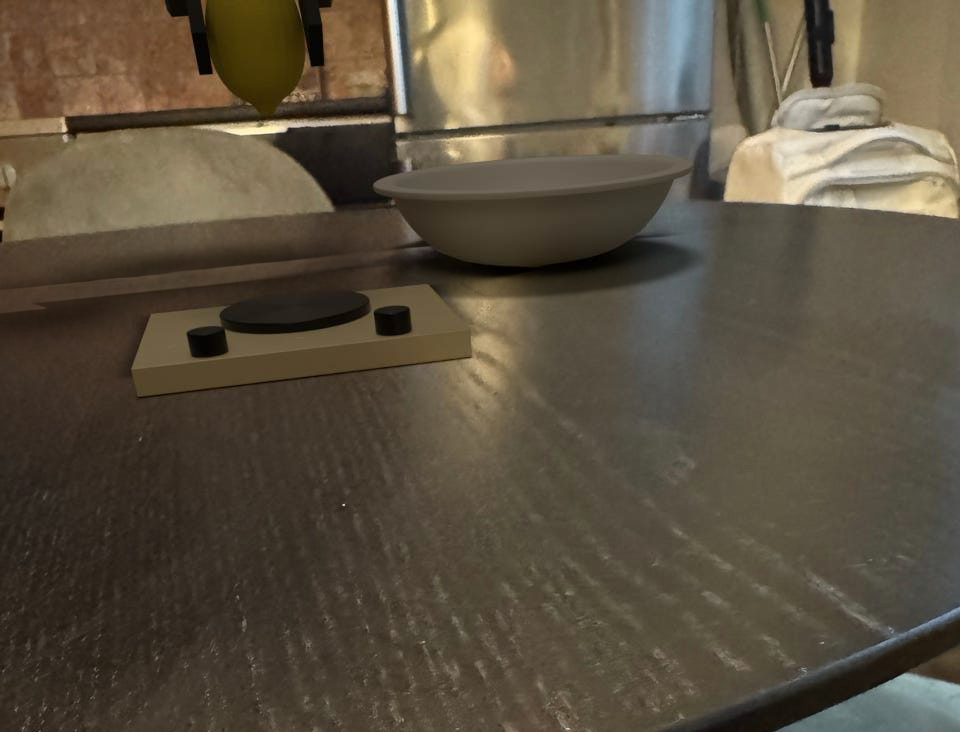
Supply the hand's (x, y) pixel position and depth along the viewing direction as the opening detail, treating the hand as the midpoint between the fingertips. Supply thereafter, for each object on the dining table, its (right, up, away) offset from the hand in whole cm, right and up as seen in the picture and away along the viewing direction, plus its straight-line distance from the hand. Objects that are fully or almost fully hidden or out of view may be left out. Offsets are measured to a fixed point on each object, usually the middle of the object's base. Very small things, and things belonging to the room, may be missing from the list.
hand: (259, 49), depth 54 cm
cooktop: (+1, -15, +5) cm, 16 cm away
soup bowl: (+16, -3, +24) cm, 29 cm away
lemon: (-1, -1, +5) cm, 5 cm away
